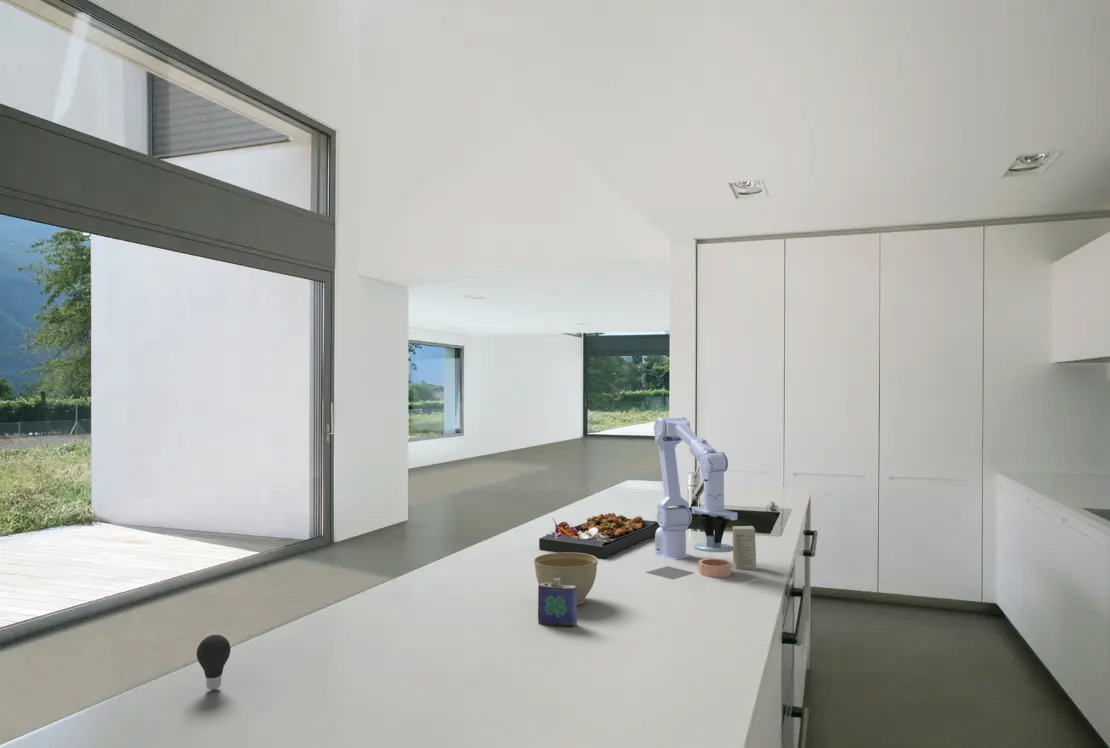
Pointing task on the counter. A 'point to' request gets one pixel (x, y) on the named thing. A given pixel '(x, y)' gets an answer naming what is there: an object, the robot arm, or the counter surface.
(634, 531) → the food platter
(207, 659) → the light bulb
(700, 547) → the lid
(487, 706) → the counter surface
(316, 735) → the counter surface
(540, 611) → the flask
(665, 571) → the mat
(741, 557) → the skincare box
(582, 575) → the planter bowl
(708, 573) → the bowl
